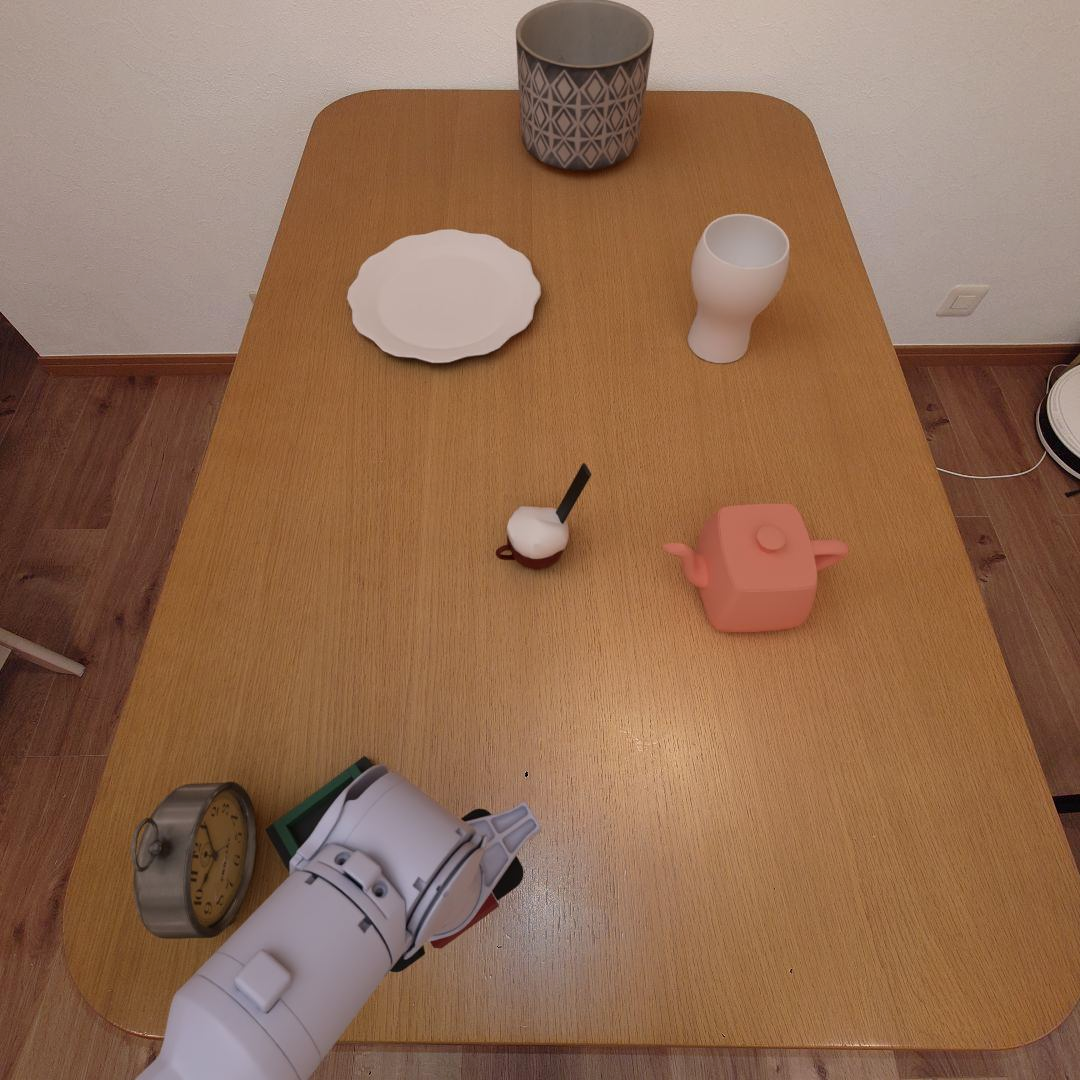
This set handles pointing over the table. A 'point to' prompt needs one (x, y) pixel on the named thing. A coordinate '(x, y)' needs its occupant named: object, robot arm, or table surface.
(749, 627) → the teapot
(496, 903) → the red cube
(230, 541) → the table surface
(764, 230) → the cup
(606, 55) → the planter
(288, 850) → the base pad
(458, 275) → the plate
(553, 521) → the cocoa
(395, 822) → the robot arm
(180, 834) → the alarm clock
